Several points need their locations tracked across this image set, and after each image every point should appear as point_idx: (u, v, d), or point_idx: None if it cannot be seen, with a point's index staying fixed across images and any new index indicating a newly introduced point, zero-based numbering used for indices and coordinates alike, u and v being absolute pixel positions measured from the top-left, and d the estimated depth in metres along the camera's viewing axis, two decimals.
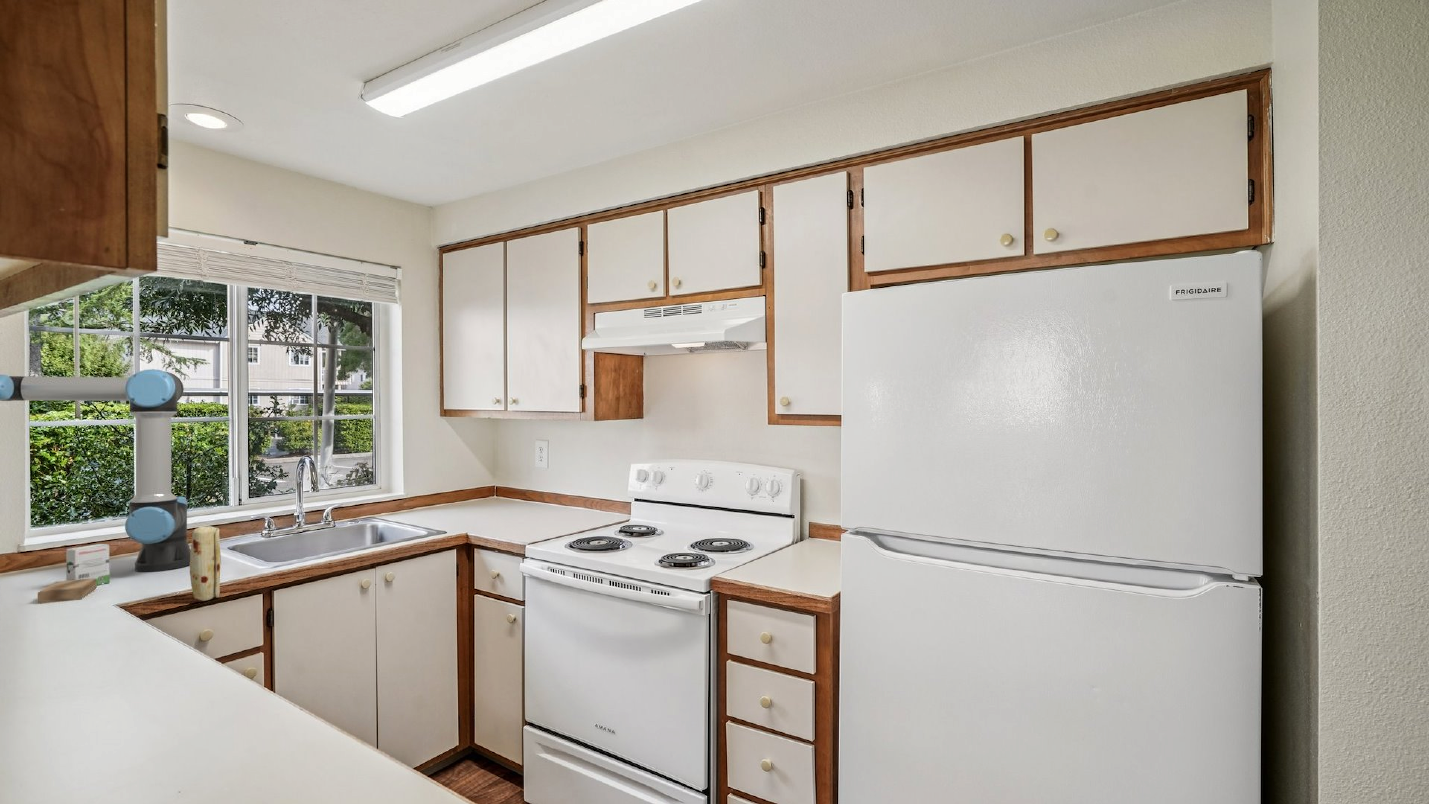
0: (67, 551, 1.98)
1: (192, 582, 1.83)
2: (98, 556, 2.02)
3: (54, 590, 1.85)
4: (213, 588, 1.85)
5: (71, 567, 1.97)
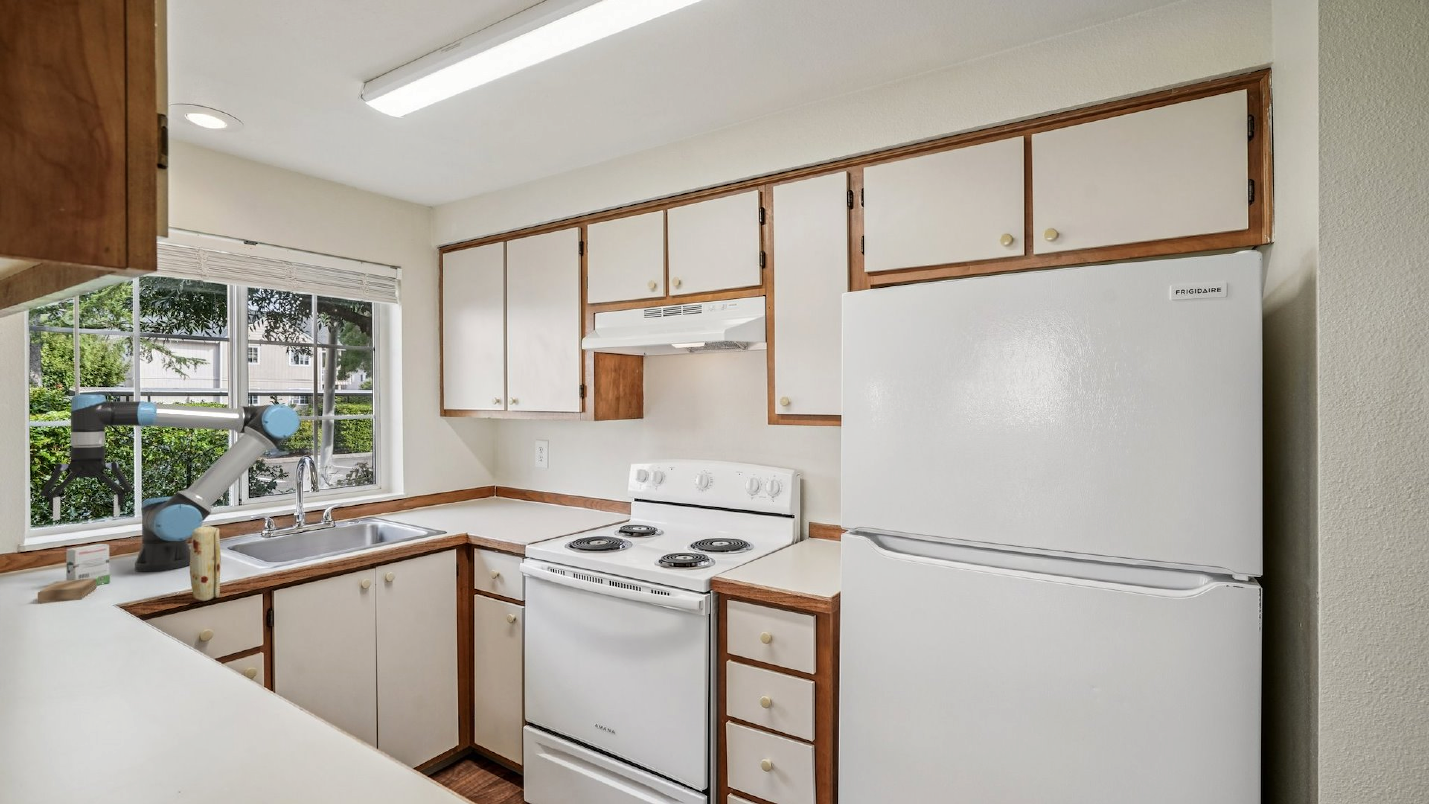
0: (67, 551, 1.98)
1: (192, 582, 1.83)
2: (98, 556, 2.02)
3: (54, 590, 1.85)
4: (213, 588, 1.85)
5: (71, 567, 1.97)
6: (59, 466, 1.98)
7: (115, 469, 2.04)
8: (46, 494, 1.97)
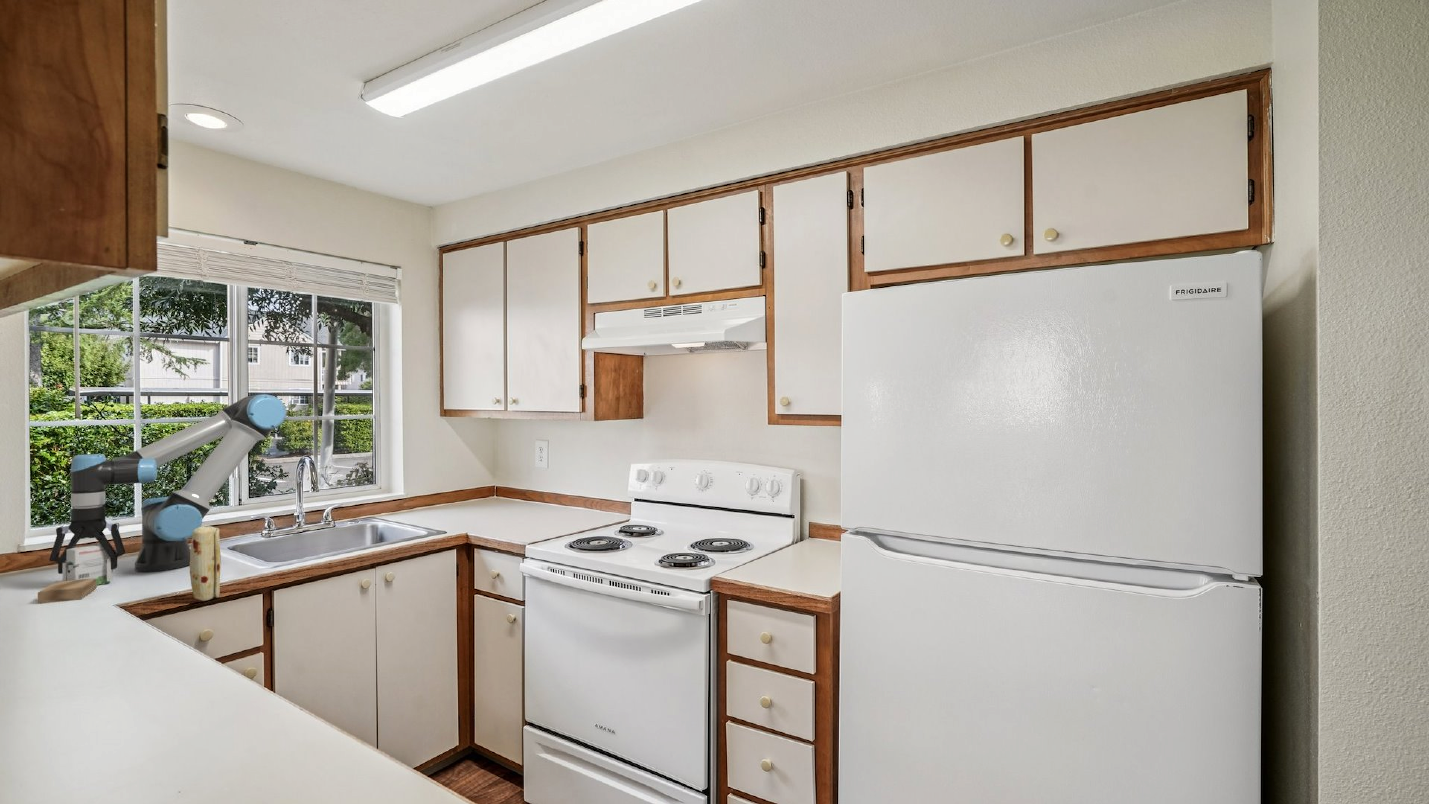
0: (67, 551, 1.98)
1: (192, 582, 1.83)
2: (98, 556, 2.02)
3: (54, 590, 1.85)
4: (213, 588, 1.85)
5: (71, 567, 1.97)
6: (60, 530, 1.98)
7: (114, 531, 2.03)
8: (55, 559, 1.98)
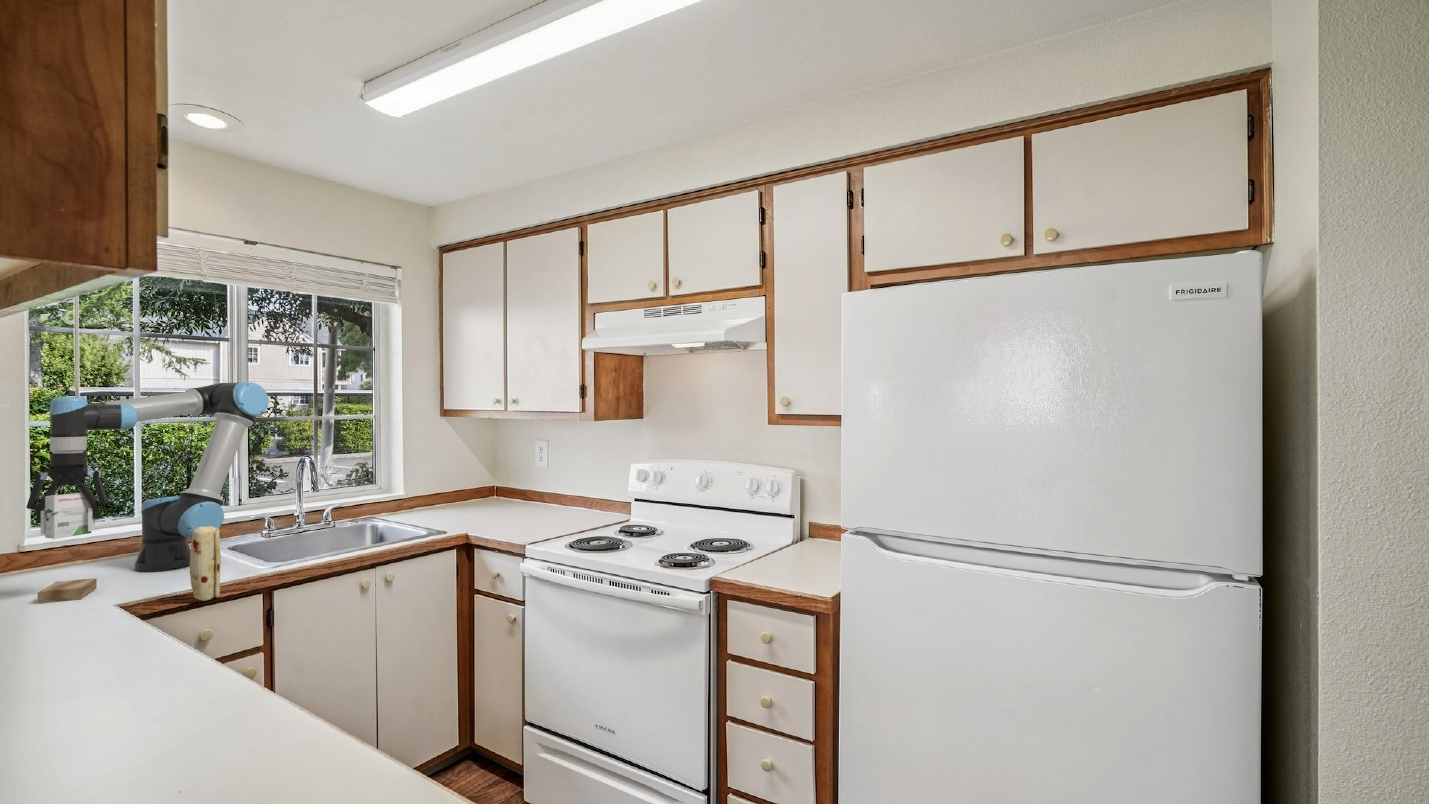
0: (46, 498, 1.87)
1: (192, 582, 1.83)
2: (79, 504, 1.91)
3: (54, 590, 1.85)
4: (213, 588, 1.85)
5: (50, 515, 1.86)
6: (38, 475, 1.87)
7: (96, 479, 1.92)
8: (33, 507, 1.86)
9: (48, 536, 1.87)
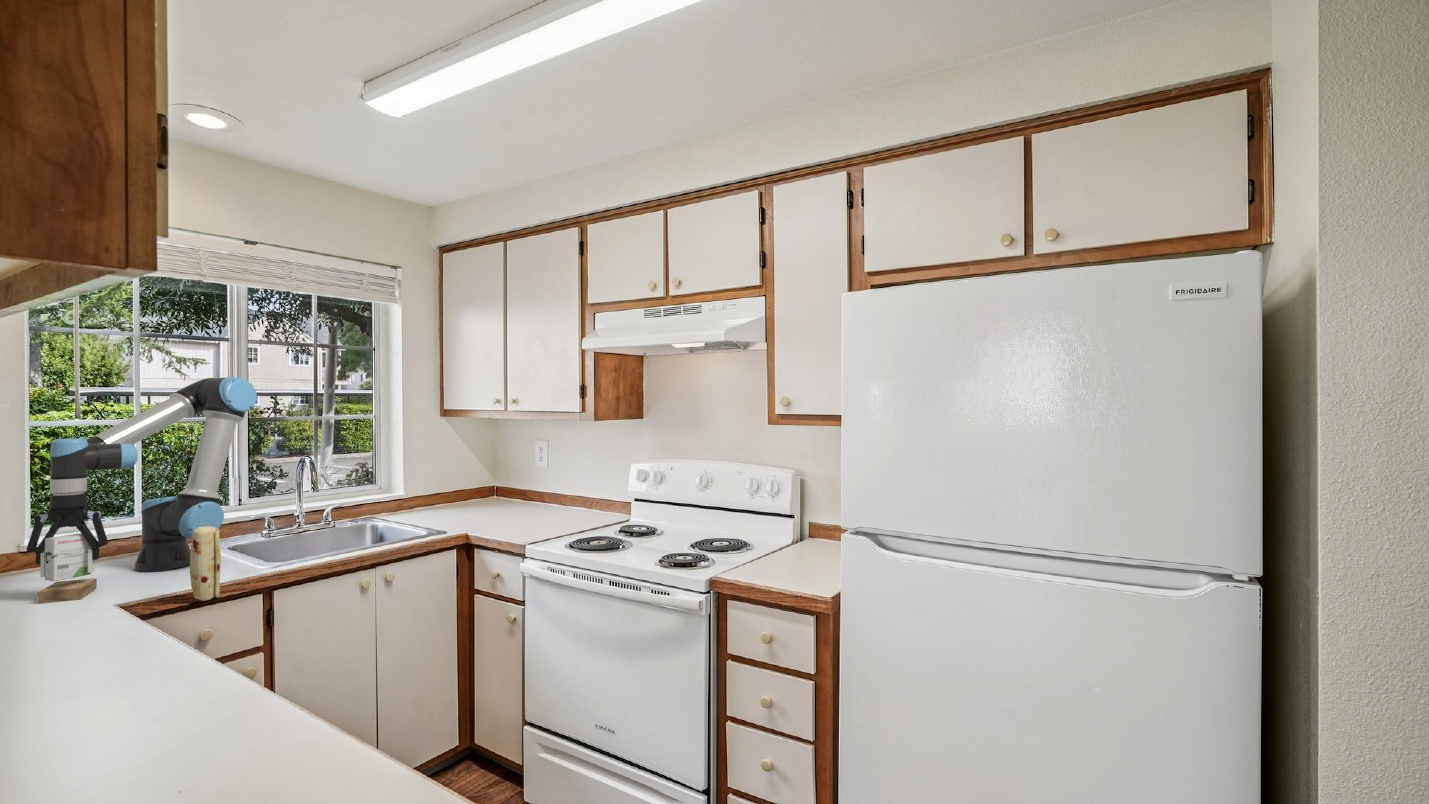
0: (45, 540, 1.87)
1: (192, 582, 1.83)
2: (78, 545, 1.91)
3: (54, 590, 1.85)
4: (213, 588, 1.85)
5: (50, 557, 1.86)
6: (38, 518, 1.87)
7: (96, 520, 1.92)
8: (33, 549, 1.86)
9: (48, 578, 1.86)
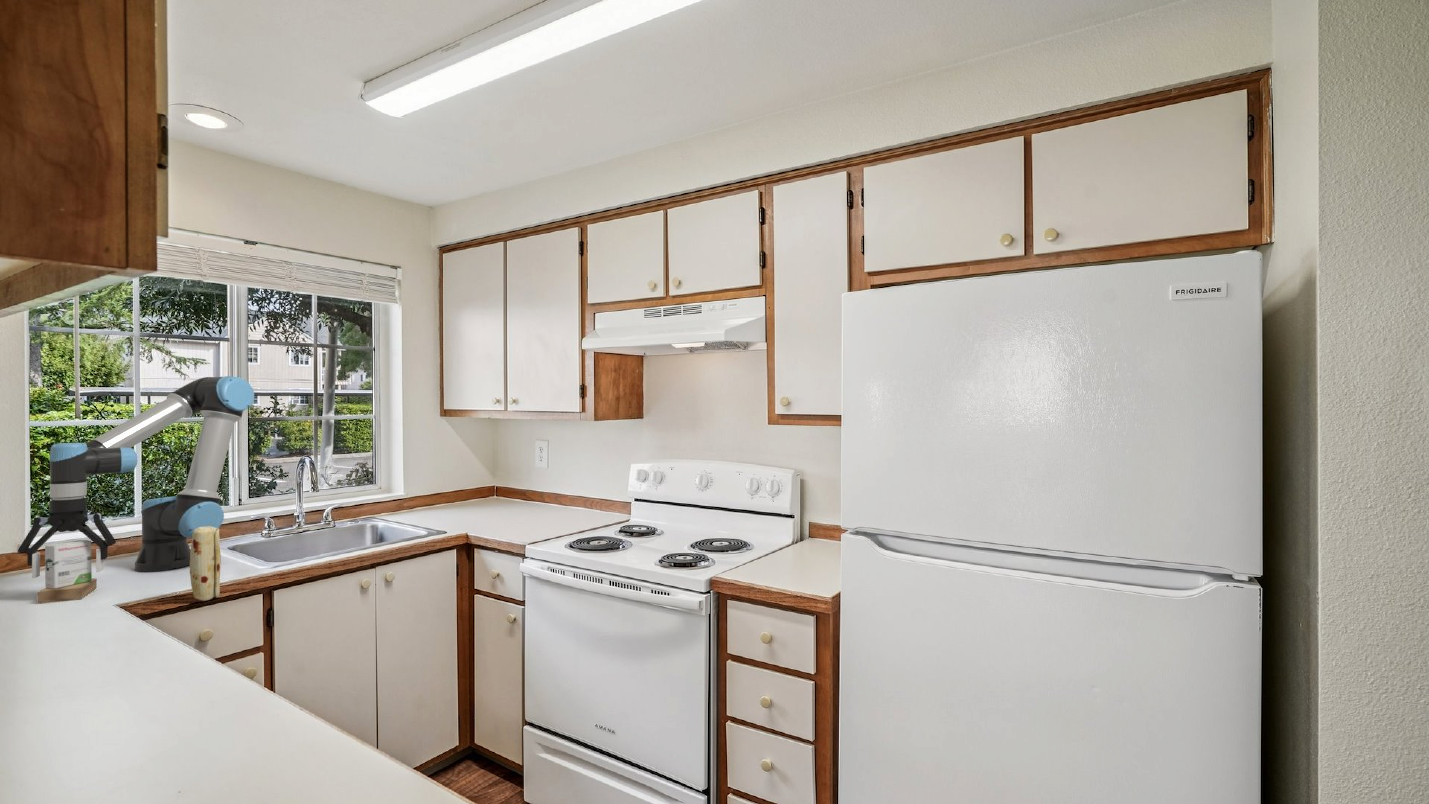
0: (46, 547, 1.87)
1: (192, 582, 1.83)
2: (79, 552, 1.91)
3: (54, 590, 1.85)
4: (213, 588, 1.85)
5: (50, 565, 1.86)
6: (38, 520, 1.87)
7: (98, 521, 1.93)
8: (24, 550, 1.86)
9: (48, 586, 1.87)
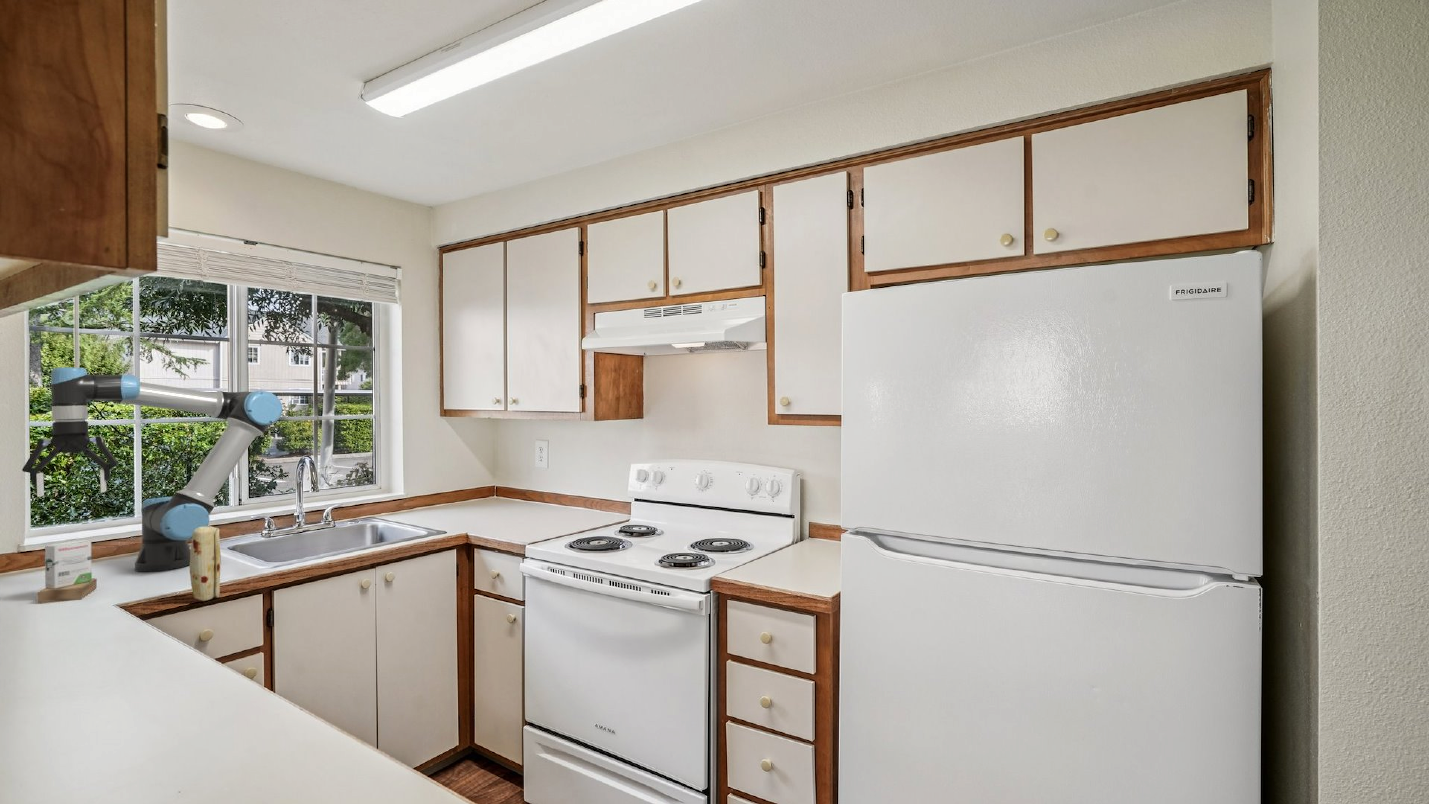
0: (46, 547, 1.87)
1: (192, 582, 1.83)
2: (79, 552, 1.91)
3: (54, 590, 1.85)
4: (213, 588, 1.85)
5: (50, 565, 1.86)
6: (41, 441, 1.93)
7: (100, 444, 1.99)
8: (29, 470, 1.92)
9: (48, 586, 1.87)
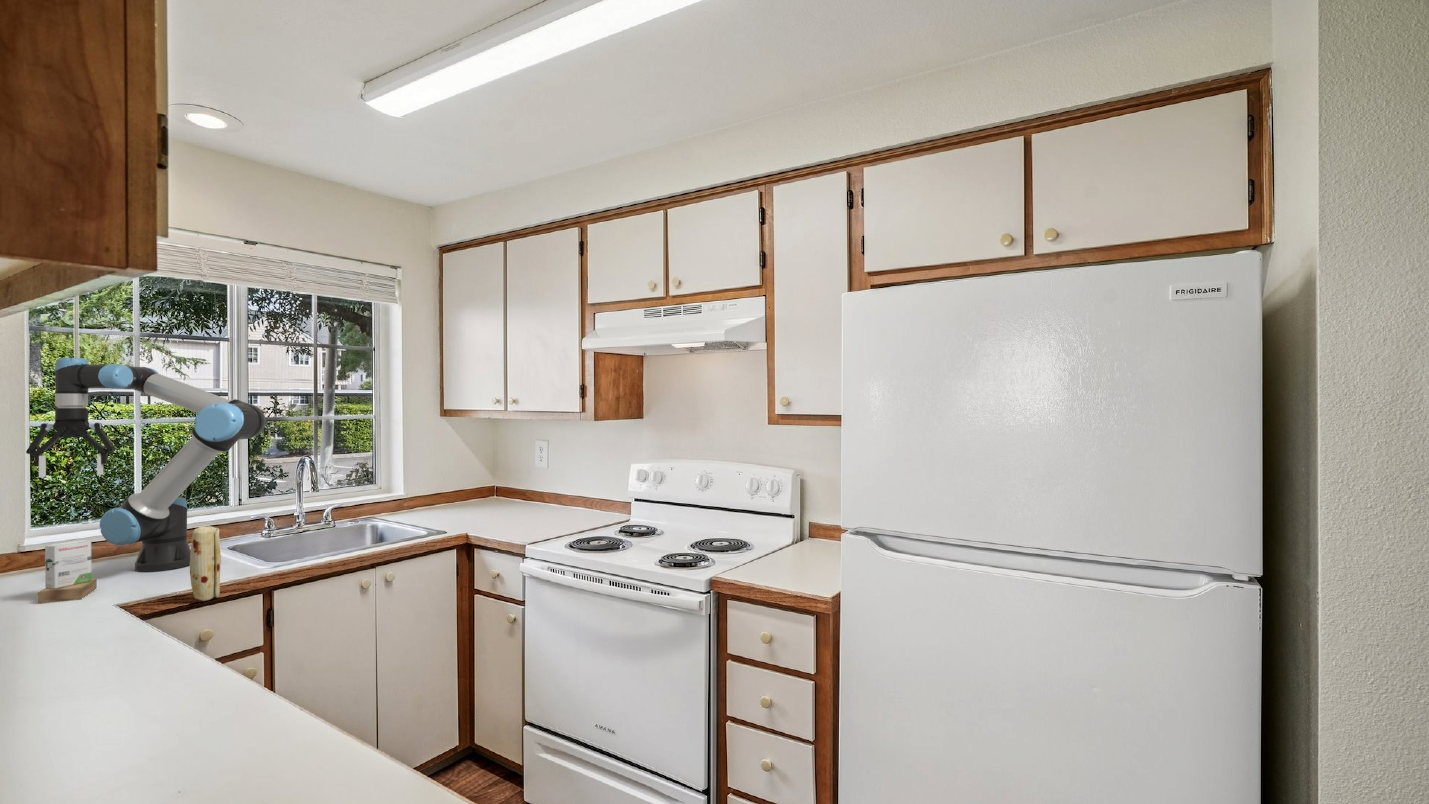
0: (46, 547, 1.87)
1: (192, 582, 1.83)
2: (79, 552, 1.91)
3: (54, 590, 1.85)
4: (213, 588, 1.85)
5: (50, 565, 1.86)
6: (44, 426, 2.07)
7: (98, 429, 2.13)
8: (32, 452, 2.06)
9: (48, 586, 1.87)
